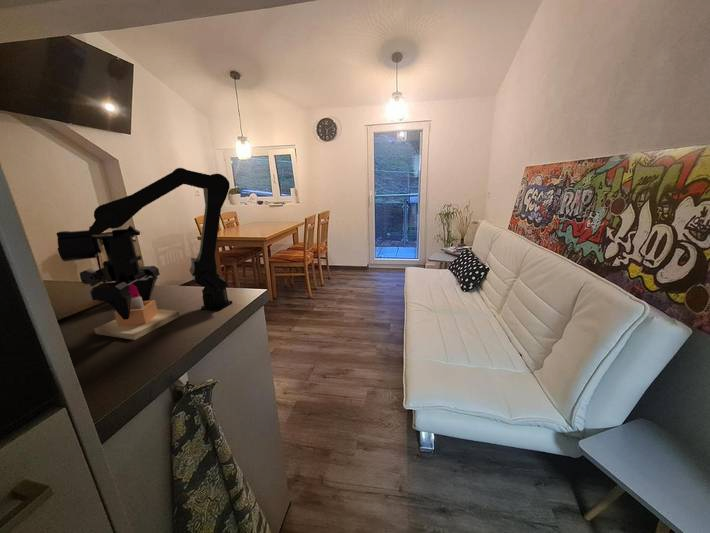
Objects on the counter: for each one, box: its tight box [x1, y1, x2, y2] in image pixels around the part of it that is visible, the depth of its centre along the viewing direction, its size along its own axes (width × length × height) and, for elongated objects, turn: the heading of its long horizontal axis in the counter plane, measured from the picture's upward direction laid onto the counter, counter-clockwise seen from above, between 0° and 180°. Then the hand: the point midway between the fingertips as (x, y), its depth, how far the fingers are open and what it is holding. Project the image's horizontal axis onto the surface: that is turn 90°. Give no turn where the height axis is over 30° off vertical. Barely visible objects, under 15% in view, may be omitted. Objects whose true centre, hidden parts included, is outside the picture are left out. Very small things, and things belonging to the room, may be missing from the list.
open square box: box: [113, 299, 158, 326], centre depth 74 cm, size 6×6×4 cm
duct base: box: [94, 296, 181, 341], centre depth 74 cm, size 13×13×8 cm
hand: (136, 311), depth 74 cm, fingers open, 9 cm apart
